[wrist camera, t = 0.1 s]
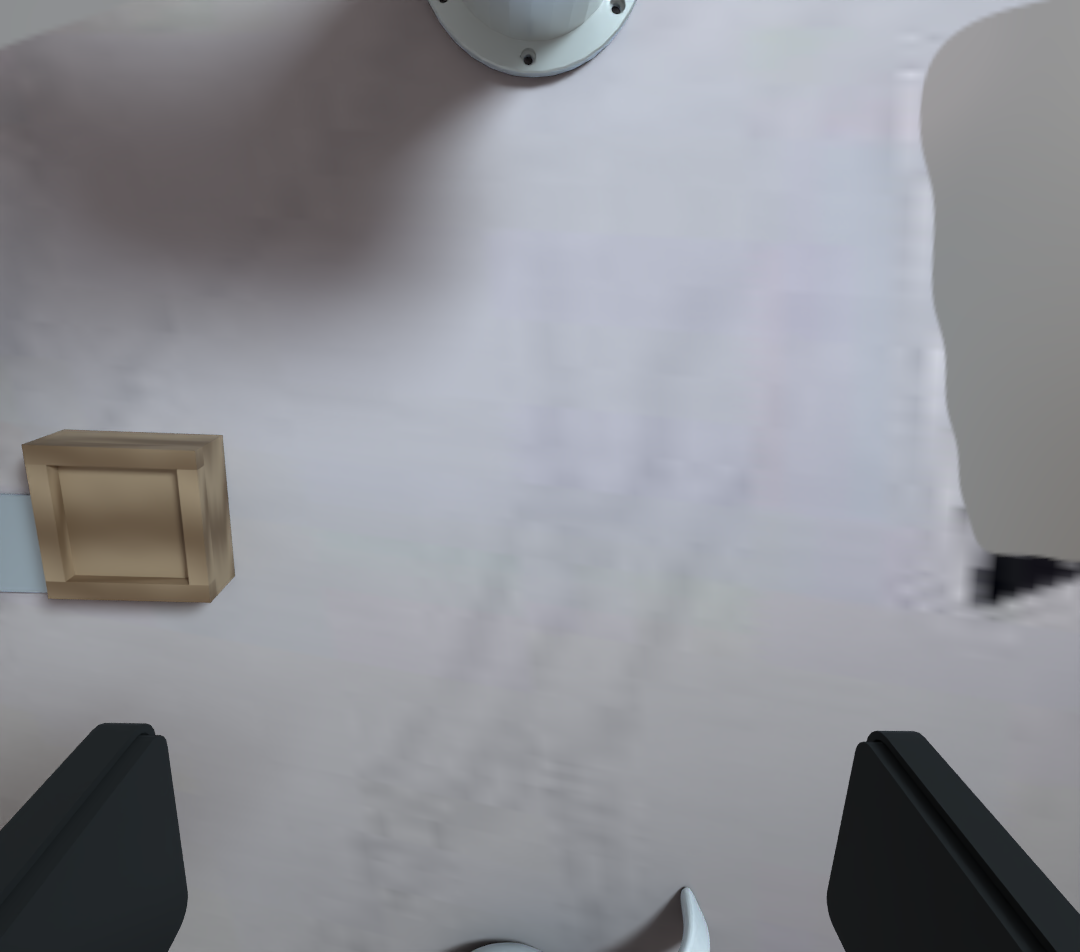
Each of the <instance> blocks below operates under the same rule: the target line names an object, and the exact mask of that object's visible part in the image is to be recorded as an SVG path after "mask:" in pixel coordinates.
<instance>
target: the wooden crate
mask: <svg viewBox="0 0 1080 952" xmlns="http://www.w3.org/2000/svg"><path fill="white" fill-rule="evenodd" d="M22 450H23V456H24V462H25V468H26V473H27V479H28V485H29V490H30V496H31V502H32V507H33V513H34V519H35V525H36V530H37V536H38V542H39V547H40V553H41V559H42V564H43V570H44V576H45V581H46V587H47V593H48V599H81V600H122V601H163V602H205V603H211V602H212V600H213V599H214V598H215V597H216V596H217V595H218V594H219V593H220V592H221V591H222V589H223V588H224V587H225V586H226V585H227V584H228V583H229V582H230V581H231V580H232V579H233V577H234V576H235V571H234V560H233V548H232V537H231V526H230V515H229V503H228V492H227V481H226V470H225V459H224V447H223V436H222V435H202V434H174V433H146V432H117V431H89V430H62V431H59V432H56V433H53V434H50V435H48V436H45V437H42V438H39V439H36V440H34V441H31V442H28V443H25V444H22Z"/></svg>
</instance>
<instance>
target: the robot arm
mask: <svg viewBox="0 0 1080 952" xmlns="http://www.w3.org/2000/svg"><path fill="white" fill-rule="evenodd" d="M636 1H637V0H448V1H447V2H445V3H441V2H440V1H439V0H428V2H429V3H430V5H431V7H432V9H433V11H434V13H435V15H436V16H437V18H438V20H439V22H440V24H441V25H442V26H443V27H444V29H445V30H446V31H447V33H448V34H449V35H450V36H451V38H452V39H453V40H454V41H455V42H456V43H457V44H458V45H459V46H460V47H461V48H462V49H464V50H465V51H466V52H467V53H468V54H469V55H470V56H472V57H473V58H475V59H476V60H478V61H480V62H481V63H483V64H485V65H487V66H488V67H490V68H492V69H495V70H498V71H501V72H504V73H507V74H510V75H515V76H524V77H532V78H533V77H543V76H553V75H557V74H560V73H563V72H566V71H569V70H572V69H575V68H576V67H578V66H580V65H582V64H583V63H585V62H587V61H589V60H590V59H592V58H593V57H595V56H596V55H597V54H598V53H599V52H600V51H601V50H603V49H604V48H605V47H606V46H607V45H608V44H610V42H611V41H612V40H613V38H614V37H615V36H616V35H617V33H618V32H619V31H620V30H621V28H622V27H623V26H624V24H625V22H626V20H627V19H628V17H629V15H630V13H631V11H632V9H633V7H634V5H635V3H636ZM614 6H617V7H618V8H619V9H620V13H619V14H614V13H613V12H612V10H611V8H612V7H614ZM525 57H531V58H532V60H533V62H532V64H531V65H526V64H525V63H524V58H525ZM187 900H188V891H187V884H186V876H185V869H184V862H183V855H182V848H181V840H180V833H179V826H178V819H177V811H176V804H175V797H174V790H173V782H172V775H171V768H170V761H169V753H168V746H167V742H166V739H165V738H164V736H161V735H155V732H154V729H153V728H152V726H151V725H149V724H139V723H104V724H100V725H98V726H97V727H96V728H95V729H93V730H92V731H91V732H90V734H89V735H88V736H87V737H86V738H85V739H84V740H83V741H82V742H81V743H80V744H79V746H78V747H77V748H76V749H75V750H74V751H73V752H72V753H71V754H70V755H69V756H68V758H67V759H66V760H65V761H64V762H63V763H62V764H61V765H60V766H59V767H58V768H57V770H56V771H55V772H54V773H53V774H52V775H51V776H50V777H49V778H48V779H47V780H46V782H45V783H44V784H43V785H42V786H41V787H40V788H39V789H38V790H37V791H36V792H35V794H34V795H33V796H32V797H31V798H30V799H29V800H28V801H27V802H26V803H25V804H24V806H23V807H22V808H21V809H20V810H19V811H18V812H17V813H16V814H15V815H14V816H13V818H12V819H11V820H10V821H9V822H8V823H7V824H6V825H5V826H4V827H3V828H2V830H1V831H0V952H168V950H169V948H170V946H171V944H172V943H173V941H174V939H175V937H176V935H177V933H178V931H179V929H180V927H181V924H182V922H183V919H184V916H185V912H186V907H187ZM827 906H828V912H829V916H830V919H831V922H832V924H833V927H834V929H835V931H836V933H837V935H838V937H839V939H840V941H841V943H842V945H843V947H844V949H845V951H846V952H1080V914H1079V913H1078V912H1077V911H1076V910H1075V908H1074V907H1073V906H1072V905H1071V904H1070V903H1069V902H1068V900H1067V899H1066V898H1065V897H1064V896H1063V895H1062V894H1061V892H1060V891H1059V890H1058V889H1057V888H1056V887H1055V886H1054V885H1053V883H1052V882H1051V881H1050V880H1049V879H1048V878H1047V877H1046V875H1045V874H1044V873H1043V872H1042V871H1041V870H1040V869H1039V867H1038V866H1037V865H1036V864H1035V863H1034V862H1033V861H1032V859H1031V858H1030V857H1029V856H1028V855H1027V854H1026V853H1025V851H1024V850H1023V849H1022V848H1021V847H1020V846H1019V845H1018V843H1017V842H1016V841H1015V840H1014V839H1013V838H1012V837H1011V835H1010V834H1009V833H1008V832H1007V831H1006V830H1005V829H1004V827H1003V826H1002V825H1001V824H1000V823H999V822H998V821H997V819H996V818H995V817H994V816H993V815H992V814H991V813H990V811H989V810H988V809H987V808H986V807H985V806H984V805H983V803H982V802H981V801H980V800H979V799H978V798H977V797H976V796H975V794H974V793H973V792H972V791H971V790H970V789H969V788H968V786H967V785H966V784H965V783H964V782H963V781H962V780H961V778H960V777H959V776H958V775H957V774H956V773H955V772H954V770H953V769H952V768H951V767H950V766H949V765H948V764H947V762H946V761H945V760H944V759H943V758H942V757H941V756H940V754H939V753H938V752H937V751H936V750H935V749H934V748H933V746H932V745H931V744H930V743H929V742H928V741H927V740H926V738H925V737H923V736H922V735H921V734H920V733H917V732H914V731H874V732H872V733H871V734H870V735H869V736H868V739H867V742H861V743H859V744H858V746H857V748H856V751H855V756H854V761H853V766H852V771H851V775H850V780H849V785H848V790H847V795H846V800H845V805H844V810H843V815H842V820H841V825H840V830H839V835H838V840H837V845H836V850H835V855H834V860H833V865H832V870H831V875H830V880H829V885H828V890H827Z"/></svg>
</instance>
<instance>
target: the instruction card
mask: <svg viewBox="0 0 1080 952" xmlns="http://www.w3.org/2000/svg"><path fill="white" fill-rule="evenodd" d="M0 592H34V593H47V587H46V581H45V576H44V570H43V564H42V559H41V553H40V547H39V542H38V536H37V530H36V525H35V519H34V513H33V507H32V502H31V496H30V494H0Z"/></svg>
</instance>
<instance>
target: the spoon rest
mask: <svg viewBox="0 0 1080 952" xmlns="http://www.w3.org/2000/svg"><path fill="white" fill-rule="evenodd" d="M680 898H681V908H682V914H683V925H684V930H683V938H682V942H681V946H680V948H679V951H678V952H709V951H710V940H709V932H708V927H707V924H706V921H705V919H704V916H703V914H702V912H701V910H700V908H699V905H698V903H697V901H696V899H695V897H694V895H693V893H692V891H691V890H690V889H689V888H687V887H686V888H684V889H683V890H682V892H681V897H680ZM472 952H542V951H540V950H538V949H536V948H533V947H530V946H527V945H525V944H521V943H514V942H505V943H495V944H490V945H486V946H483V947H480V948H478V949H475V950H473V951H472Z"/></svg>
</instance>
